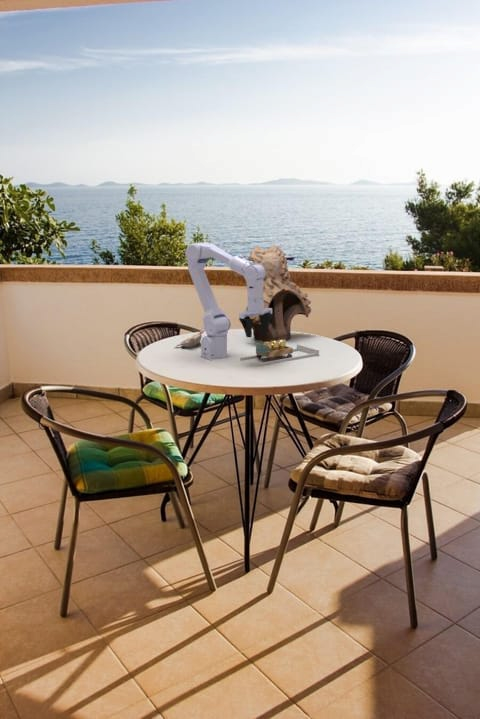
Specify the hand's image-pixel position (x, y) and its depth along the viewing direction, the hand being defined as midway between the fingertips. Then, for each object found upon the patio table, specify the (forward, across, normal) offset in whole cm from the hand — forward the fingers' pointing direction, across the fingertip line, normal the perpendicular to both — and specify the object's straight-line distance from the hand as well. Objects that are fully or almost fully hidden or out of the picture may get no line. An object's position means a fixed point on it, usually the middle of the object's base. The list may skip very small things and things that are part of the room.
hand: (256, 335), depth 241 cm
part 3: (+8, +12, 0) cm, 14 cm away
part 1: (+7, +6, 0) cm, 9 cm away
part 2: (+7, +9, 0) cm, 12 cm away
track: (+11, +11, 0) cm, 16 cm away
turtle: (+9, -1, +40) cm, 41 cm away
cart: (+10, +9, 0) cm, 13 cm away
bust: (+10, +34, +28) cm, 46 cm away
